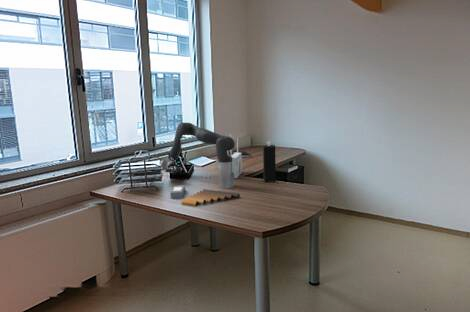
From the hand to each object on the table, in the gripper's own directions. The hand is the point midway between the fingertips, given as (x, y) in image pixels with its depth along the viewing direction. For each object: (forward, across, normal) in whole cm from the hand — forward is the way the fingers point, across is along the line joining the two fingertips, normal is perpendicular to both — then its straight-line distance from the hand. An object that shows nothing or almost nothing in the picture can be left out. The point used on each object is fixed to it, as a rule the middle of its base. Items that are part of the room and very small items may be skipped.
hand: (174, 172), depth 244 cm
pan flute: (+41, +17, +11) cm, 46 cm away
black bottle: (+11, +64, +10) cm, 66 cm away
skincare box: (-14, +47, +10) cm, 50 cm away
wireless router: (-90, +67, +10) cm, 112 cm away
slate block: (+12, +2, +8) cm, 15 cm away
